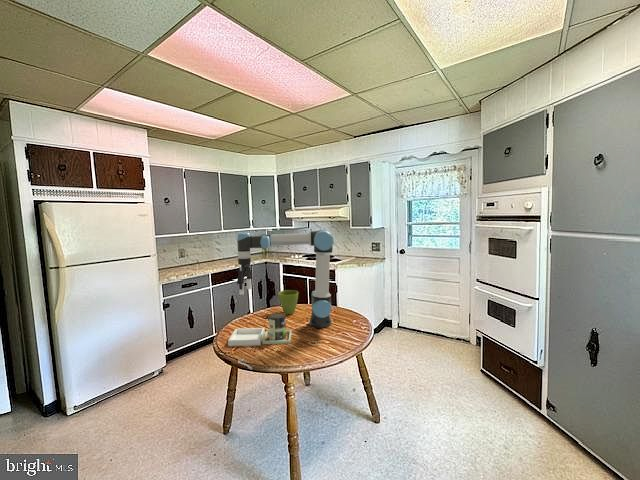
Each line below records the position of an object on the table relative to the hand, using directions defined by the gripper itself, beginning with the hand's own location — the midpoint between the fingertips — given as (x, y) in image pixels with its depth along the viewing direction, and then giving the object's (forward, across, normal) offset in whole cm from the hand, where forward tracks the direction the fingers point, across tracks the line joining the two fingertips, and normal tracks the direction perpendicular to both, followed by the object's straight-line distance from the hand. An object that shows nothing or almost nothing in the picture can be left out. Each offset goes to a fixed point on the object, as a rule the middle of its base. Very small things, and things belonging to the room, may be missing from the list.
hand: (245, 291), depth 186 cm
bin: (+27, +9, +3) cm, 29 cm away
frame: (+27, +5, +21) cm, 35 cm away
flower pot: (+27, -42, +18) cm, 53 cm away
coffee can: (+27, +5, +21) cm, 35 cm away
